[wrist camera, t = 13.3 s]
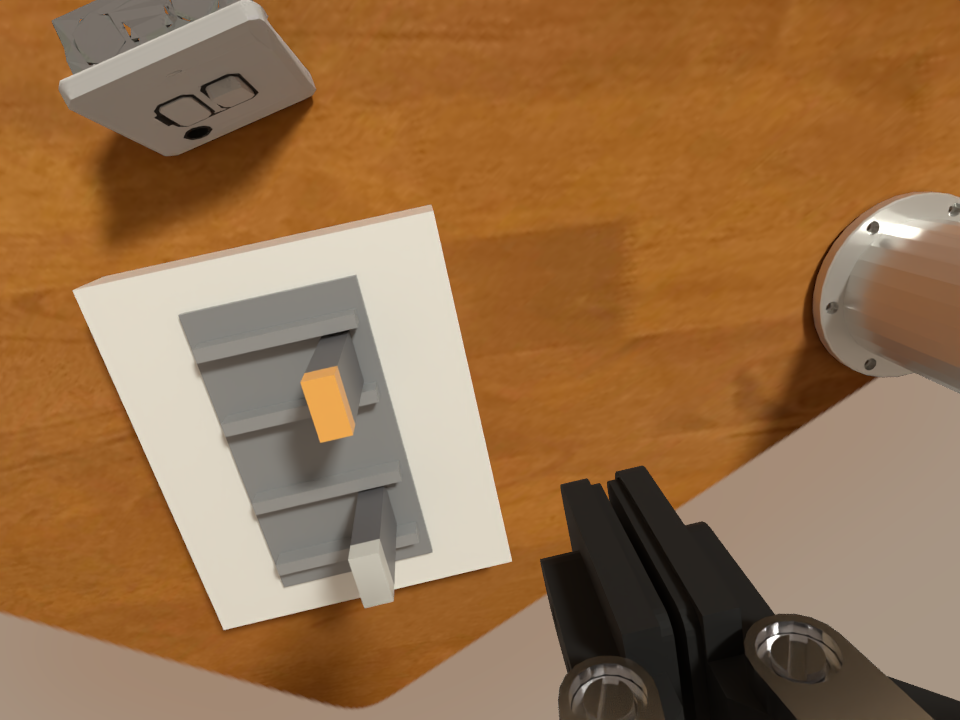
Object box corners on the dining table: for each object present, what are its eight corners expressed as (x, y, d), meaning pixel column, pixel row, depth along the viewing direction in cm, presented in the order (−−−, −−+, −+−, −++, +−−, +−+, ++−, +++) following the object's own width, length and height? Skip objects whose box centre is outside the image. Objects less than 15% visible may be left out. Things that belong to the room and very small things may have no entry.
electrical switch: (171, 159, 35) (81, 145, 26) (123, 68, 34) (11, 21, 25) (321, 93, 35) (282, 57, 26) (278, -1, 34) (222, -75, 25)
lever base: (431, 204, 38) (439, 229, 27) (504, 530, 46) (532, 648, 35) (103, 276, 37) (-21, 331, 26) (237, 593, 45) (184, 732, 35)
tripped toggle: (349, 329, 35) (334, 374, 29) (363, 380, 37) (353, 435, 30) (321, 336, 35) (300, 382, 29) (337, 386, 36) (320, 442, 30)
